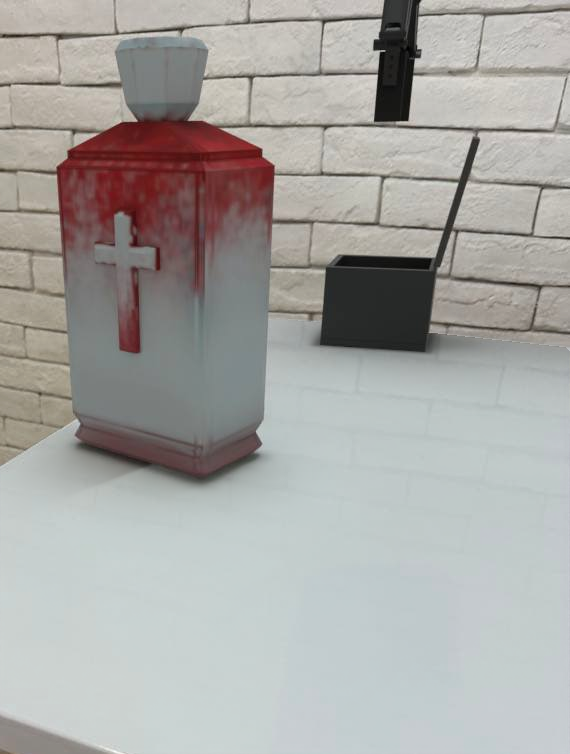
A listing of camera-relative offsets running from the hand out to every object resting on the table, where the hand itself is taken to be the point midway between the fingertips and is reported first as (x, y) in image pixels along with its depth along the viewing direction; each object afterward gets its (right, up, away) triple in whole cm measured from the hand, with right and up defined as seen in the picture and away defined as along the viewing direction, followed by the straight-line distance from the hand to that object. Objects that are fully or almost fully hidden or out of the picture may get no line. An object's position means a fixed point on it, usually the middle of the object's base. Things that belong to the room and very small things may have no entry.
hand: (392, 122), depth 93 cm
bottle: (-26, -40, -23) cm, 53 cm away
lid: (+8, -8, +2) cm, 11 cm away
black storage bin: (+1, -22, +11) cm, 25 cm away
